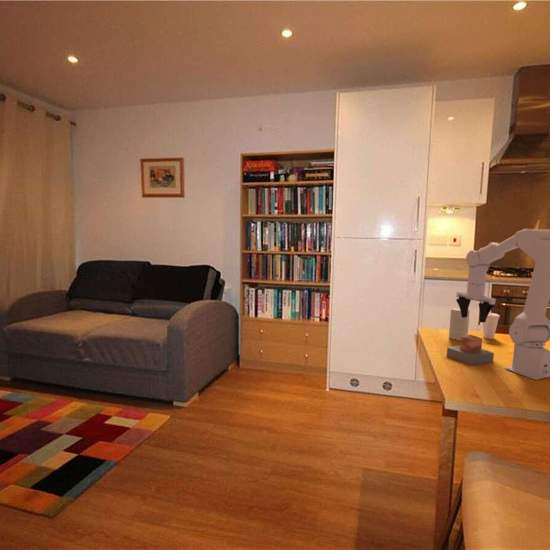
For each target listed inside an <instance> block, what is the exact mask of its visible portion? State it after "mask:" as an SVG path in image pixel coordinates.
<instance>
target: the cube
mask: <svg viewBox="0 0 550 550" xmlns="http://www.w3.org/2000/svg"><path fill="white" fill-rule="evenodd" d="M482 345H483V338H482V337H480V336H476V335H472V334H468V335H465V336H461V341H460V349H462V350H465V351H468V352H471V353H474V352H480V351H481V349H482Z"/></svg>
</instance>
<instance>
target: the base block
mask: <svg viewBox="0 0 550 550" xmlns="http://www.w3.org/2000/svg"><path fill="white" fill-rule="evenodd" d="M460 345H461V344H460ZM460 345H453V346H447V348H446V356H447V357H449V358H451V357H452V359H455V360H457V361H460V362H462V363H465V364H467V365H469V366H477V365H482V364H488V363H493V362H494V356H495V353H494V352H492V351H489V350H486V349H483V348H481V351H480V352H474V353H471V352H468V351H465V350H462V349H460Z"/></svg>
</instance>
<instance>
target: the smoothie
mask: <svg viewBox="0 0 550 550" xmlns="http://www.w3.org/2000/svg"><path fill="white" fill-rule="evenodd" d="M500 317H501V316H500V314H498V313H494V312H492V310H491V311H490V312H489V314H488V316H487V318H486V321H485V322H482V335H483V338H485V339H490V340H492V339H495V334H496V331H497V326H498V322H499V319H500Z"/></svg>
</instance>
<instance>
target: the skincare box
mask: <svg viewBox="0 0 550 550" xmlns="http://www.w3.org/2000/svg"><path fill="white" fill-rule="evenodd" d="M469 323H470V310H469V309H468V315H467V317H465V318H462V316H461V311H460V308H456V307H454V308H451V309H450V319H449V331H448V339H449V338H452V339H451V340H455V339H456V340H457V341H460V340H461V336H465V335H469ZM456 340H455V341H456Z"/></svg>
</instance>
